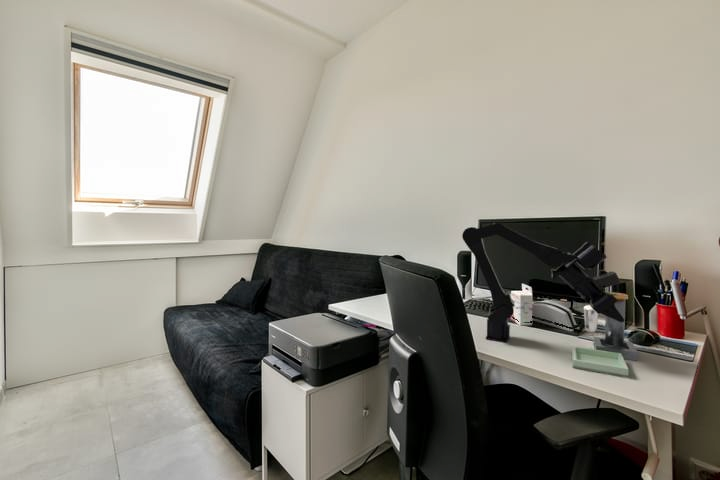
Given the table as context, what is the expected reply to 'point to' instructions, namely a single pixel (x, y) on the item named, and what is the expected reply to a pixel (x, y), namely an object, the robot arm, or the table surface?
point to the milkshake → (590, 319)
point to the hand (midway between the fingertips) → (620, 319)
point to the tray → (599, 361)
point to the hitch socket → (616, 348)
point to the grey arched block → (553, 314)
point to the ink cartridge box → (522, 305)
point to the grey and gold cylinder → (616, 323)
